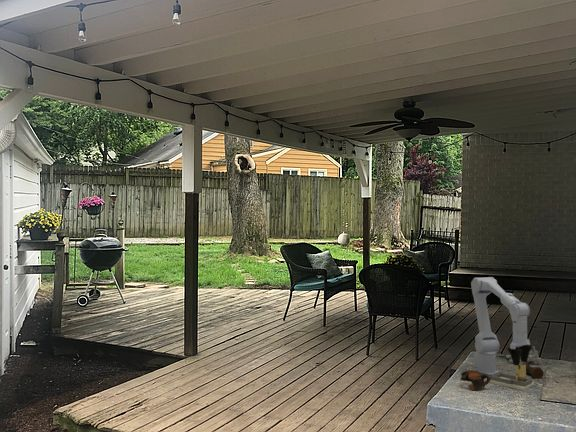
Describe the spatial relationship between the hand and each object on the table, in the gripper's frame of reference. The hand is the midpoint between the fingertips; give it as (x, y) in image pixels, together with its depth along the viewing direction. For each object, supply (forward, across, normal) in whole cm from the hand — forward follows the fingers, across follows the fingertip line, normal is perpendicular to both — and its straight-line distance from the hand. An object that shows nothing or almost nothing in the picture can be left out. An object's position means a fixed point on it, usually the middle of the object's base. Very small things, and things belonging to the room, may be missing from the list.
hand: (520, 363), depth 230 cm
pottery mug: (+10, -17, +12) cm, 23 cm away
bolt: (+10, +20, +5) cm, 23 cm away
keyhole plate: (+9, 0, +4) cm, 10 cm away
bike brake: (+10, +40, +19) cm, 46 cm away
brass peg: (+8, 0, 0) cm, 8 cm away
